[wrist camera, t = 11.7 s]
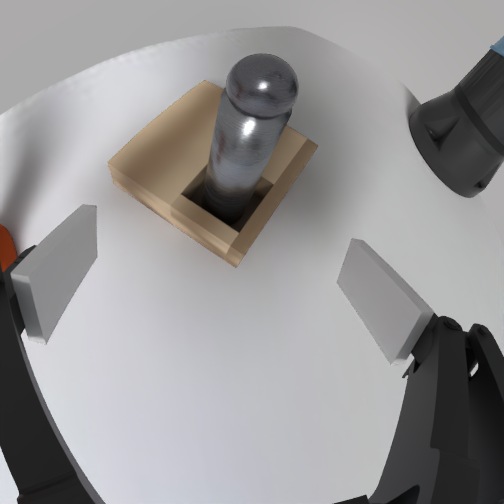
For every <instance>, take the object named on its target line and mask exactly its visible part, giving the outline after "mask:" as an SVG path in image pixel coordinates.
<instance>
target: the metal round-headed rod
mask: <svg viewBox="0 0 504 504" xmlns="http://www.w3.org/2000/svg"><path fill="white" fill-rule="evenodd" d="M297 95H298V80H297V76H296V74H295V72H294V70H293V69H292V68H291V66H290V65H289V64H288V63H287V62H285V61H284V60H282V59H281V58H279V57H277V56H274V55H270V54H254V55H250V56H247V57H245V58H243V59H242V60H240V61H239V62H238V63H236V64H235V65H234V67H233V68H232V69H231V71H230V73H229V75H228V78H227V82H226V88H225V89H224V90H223V92H222V94H221V98H220V103H219V108H218V113H217V118H216V123H215V128H214V133H213V138H212V144H211V149H210V154H209V160H208V166H207V171H206V177H205V183H204V189H203V195H202V202H201V208H202V209H204V210H205V211H207V212H208V213H210V214H211V215H213V216H214V217H216V218H217V219H219V220H220V221H222V222H223V223H225V224H226V225H232V224H234V223H236V222H237V221H239V220H240V219H241V217H242V216H243V214H244V212H245V210H246V207H247V205H248V203H249V201H250V199H251V197H252V195H253V193H254V190H255V188H256V186H257V184H258V182H259V180H260V178H261V176H262V174H263V172H264V169H265V167H266V165H267V163H268V161H269V159H270V157H271V155H272V153H273V151H274V149H275V147H276V145H277V142H278V140H279V138H280V136H281V134H282V132H283V130H284V128H285V126H286V124H287V122H288V120H289V118H290V116H291V112H292V108H291V107H292V106H293V104H294V103H295V101H296V98H297Z"/></svg>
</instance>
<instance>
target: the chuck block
mask: <svg viewBox="0 0 504 504" xmlns="http://www.w3.org/2000/svg"><path fill="white" fill-rule="evenodd" d="M223 90H224V89H222V88H220V87H218V86H216V85H214V84H212V83H210V82H208V81H206V80H204V81H202V82H201V83H199V84H198V85H197V86H195V87H194V88H193V89H191V90H190V91H189V92H187V93H186V94H185V95H183V96H182V97H181V98H180V99H178V100H177V101H176V102H174V103H173V104H172V105H171V106H169V107H168V108H167V109H166V110H165V111H163V112H162V113H161V114H160V115H159V116H157V117H156V118H155V119H154V120H153V121H151V122H150V123H149V124H148V125H147V126H146V127H145V128H143V129H142V130H141V131H140V132H139V133H138V134H137V135H136V136H135V137H133V138H132V139H131V140H130V141H129V142H128V143H127V144H126V145H125V146H124V147H123V148H122V149H121V150H120V151H119V152H118V153H116V154H115V155H114V156H113V157H112V158H111V159H110V160H109V161H108V162H107V163H108V167H109V170H110V173H111V176H112V179H113V182H114V184H115V185H117V186H118V187H120V188H121V189H122V190H124V191H125V192H127V193H128V194H130V195H131V196H132V197H134V198H135V199H137V200H138V201H139V202H141V203H142V204H144V205H145V206H147V207H148V208H149V209H151V210H152V211H154V212H155V213H157V214H158V215H159V216H161V217H162V218H164V219H165V220H167V221H168V222H170V223H171V224H172V225H174V226H175V227H177V228H178V229H180V230H181V231H183V232H184V233H185V234H187V235H188V236H190V237H191V238H193V239H194V240H196V241H197V242H199V243H200V244H202V245H203V246H204V247H206V248H207V249H209V250H210V251H212V252H213V253H215V254H216V255H218V256H219V257H221V258H222V259H224V260H225V261H227V262H228V263H230V264H231V265H233V266H234V267H237V266H238V264H239V263H240V261H241V260H242V258H243V257H244V255H245V254H246V252H247V251H248V249H249V248H250V246H251V245H252V243H253V242H254V240H255V239H256V238H257V236H258V235H259V233H260V232H261V230H262V229H263V227H264V226H265V224H266V223H267V221H268V220H269V218H270V217H271V215H272V214H273V212H274V211H275V209H276V208H277V206H278V205H279V203H280V202H281V200H282V199H283V197H284V196H285V194H286V193H287V191H288V190H289V188H290V187H291V186H292V184H293V183H294V181H295V180H296V178H297V177H298V175H299V174H300V172H301V171H302V169H303V168H304V166H305V165H306V163H307V162H308V160H309V159H310V157H311V156H312V154H313V153H314V152H315V150H316V149H317V147H318V145H317V144H315V143H314V142H312V141H311V140H309V139H308V138H306V137H304V136H303V135H301V134H300V133H298V132H297V131H295V130H294V129H292V128H290V127H289V126H287V125H286V126H285V128H284V130H283V132H282V134H281V136H280V138H279V140H278V142H277V145H276V147H275V149H274V151H273V153H272V155H271V157H270V159H269V161H268V163H267V165H266V167H265V169H264V172H263V174H262V176H261V178H260V180H259V182H258V184H257V186H256V188H255V190H254V193H253V195H252V197H251V199H250V201H249V203H248V205H247V207H246V210H245V212H244V214H243V216H242V217H241V219H240V220H239V221H237V222H236V223H234V224H232V225H226V224H225V223H223V222H222V221H220V220H219V219H217V218H216V217H214V216H213V215H211V214H210V213H208V212H207V211H205V210H204V209H202V208H201V202H202V195H203V189H204V183H205V177H206V171H207V166H208V160H209V154H210V149H211V144H212V138H213V133H214V128H215V123H216V118H217V113H218V108H219V103H220V98H221V94H222V92H223Z"/></svg>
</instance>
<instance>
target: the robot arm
mask: <svg viewBox="0 0 504 504" xmlns="http://www.w3.org/2000/svg"><path fill="white" fill-rule="evenodd" d="M490 48H491V49H490V50H489V51H488V53H487V54H486V55H485V56H484V57H483V58H482V59H481V60H480V61H479V62H478V63H477V65H476V66H475V67H474V68H473V69H472V70H471V71H470V72H469V73H468V74H467V75H466V76H465V77H464V78H463V79H462V80H461V81H460V83H459V84H458V85H457V86H456V87H455V88H454V89H453V90H451V91H450V92H448V93H445V94H443V95H441V96H439V97H437V98H435V99H432V100H430V101H428V102H426V103H424V104H422V105H420V106H419V107H418V108H417V109H416V110H415V112H414V113H413V114H412V115H411V117H410V129H411V133H412V136H413V138H414V141H415V143H416V145H417V147H418V149H419V151H420V152H421V154H422V156H423V157H424V159H425V160H426V162H427V163H428V165H429V166H430V167H431V169H432V170H433V171H434V172H435V174H436V175H437V176H438V177H439V178H440V179H441V180H442V181H443V182H444V183H445V184H446V185H447V186H448V187H449V188H450V189H452V190H453V191H454V192H456V193H457V194H459V195H461V196H463V197H467V198H471V197H474V196H475V195H477V194H478V193H480V192H481V191H483V190H484V189H485V188H486V186H487V185H488V184H489V182H490V181H491V179H492V178H493V176H494V175H495V173H496V172H497V170H498V169H499V167H500V166H501V164H502V163H503V161H504V36H503V37H502V38H501V39H500V40H499V41H498V42H497V43H496V44H495V45H492V46H491V47H490ZM96 258H97V206H94V205H84V204H83V205H82V206H80V207H79V208H78V209H77V210H76V211H74V212H73V213H72V214H71V215H70V216H69V217H68V218H66V219H65V220H64V221H63V222H62V223H61V224H60V225H59V226H57V227H56V228H55V229H54V230H53V231H52V232H51V233H50V234H49V235H48V236H47V237H46V238H45V239H44V240H42V241H41V242H40V243H39V244H38V245H34V246H32V247H30V248H28V249H26V250H25V251H24V252H22V253H21V254H20V255H19V257H18V258H16V259H15V260H14V261H13V263H11V264H10V266H9V267H8V268H7V269H6V270H5V271H4V272H2V268H1V263H0V447H1V449H2V452H3V455H4V457H5V460H6V462H7V465H8V467H9V470H10V472H11V474H12V477H13V479H14V481H15V483H16V485H17V488H18V490H19V496H18V498H17V502H18V504H105V502H104V501H103V500H102V499H101V497H100V496H99V494H98V493H97V492H96V490H95V489H94V487H93V486H92V484H91V483H90V482H89V480H88V479H87V477H86V476H85V474H84V472H83V471H82V469H81V468H80V466H79V465H78V463H77V461H76V460H75V458H74V456H73V455H72V453H71V451H70V449H69V448H68V446H67V444H66V442H65V441H64V439H63V437H62V435H61V433H60V431H59V429H58V427H57V425H56V423H55V421H54V419H53V417H52V415H51V413H50V411H49V409H48V407H47V404H46V402H45V400H44V398H43V395H42V393H41V391H40V388H39V386H38V383H37V381H36V378H35V376H34V373H33V370H32V368H31V365H30V362H29V359H28V356H27V353H26V350H25V347H24V344H23V341H22V338H21V334H22V332H23V330H24V329H26V332H27V335H28V338H29V340H30V341H33V342H37V343H41V344H45V345H46V344H47V342H48V340H49V338H50V336H51V334H52V332H53V331H54V329H55V327H56V325H57V323H58V321H59V319H60V318H61V316H62V314H63V312H64V311H65V309H66V307H67V305H68V304H69V302H70V300H71V298H72V297H73V295H74V293H75V292H76V290H77V288H78V287H79V285H80V283H81V282H82V280H83V279H84V277H85V275H86V274H87V272H88V271H89V269H90V267H91V266H92V264H93V263H94V261H95V260H96ZM337 284H338V285H339V287H340V288H341V290H342V291H343V293H344V294H345V295H346V297H347V298H348V300H349V301H350V303H351V304H352V306H353V307H354V309H355V310H356V312H357V313H358V315H359V316H360V318H361V319H362V321H363V322H364V324H365V325H366V327H367V329H368V330H369V332H370V333H371V335H372V336H373V338H374V339H375V341H376V342H377V344H378V346H379V347H380V349H381V350H382V352H383V353H384V355H385V357H386V358H387V360H388V361H389V363H390V365H397V364H404V363H405V361H406V360H407V358H408V356H409V355H410V353H412V355H413V356H414V360H413V361H412V363H411V364H410V366H409V367H408V369H407V370H406V372H405V373H404V375H403V377H402V378H405V376H406V375H408V379H407V380H408V381H407V386H406V390H405V395H404V400H403V404H402V408H401V412H400V416H399V420H398V424H397V428H396V432H395V435H394V439H393V442H392V445H391V449H390V452H389V455H388V458H387V461H386V464H385V467H384V470H383V473H382V476H381V478H380V481H379V484H378V486H377V488H376V490H375V492H374V493H373V495H372V496H371V497H370V498H369V499H368V498H367V496H366V495H363V496H360V497H357V498H353V499H349V500H346V501H342V502H338V503H334V504H504V357H503V355H502V353H501V351H500V349H499V347H498V345H497V343H496V341H495V339H494V337H493V335H492V334H491V332H490V331H489V330H488V328H487V327H485V326H484V325H480V324H476V323H475V324H473V325H472V327H471V329H470V330H469V332H465V331H463V330H462V327H461V326H460V325H459V324H458V323H457V322H456V321H455V320H454V319H451V318H449V317H446V316H440V317H438V316H437V315H436V314H435V313H434V311H433V310H432V309H431V308H430V307H429V305H428V304H427V303H426V302H425V301H424V300H423V299H422V298H421V297H420V296H419V295H418V294H417V293H416V292H415V291H414V290H413V289H412V288H411V287H410V286H409V284H408V283H407V282H406V281H405V280H404V279H403V278H402V277H401V276H400V275H399V274H398V273H397V272H396V271H395V270H394V269H393V268H392V267H391V266H390V265H389V264H388V263H387V262H386V261H384V260H383V259H382V258H381V257H380V256H379V255H378V254H377V253H376V252H375V251H374V250H373V249H372V248H371V247H370V246H369V245H368V244H367V243H366V242H365V241H364V240H358V239H351V242H350V245H349V248H348V251H347V254H346V257H345V260H344V263H343V266H342V268H341V271H340V274H339V277H338V280H337ZM477 363H478V370H477V371H476V372H475V374H474V375H473V376H471V374H470V372H471V371H472V370H473V368H474V367H475V365H476V364H477Z"/></svg>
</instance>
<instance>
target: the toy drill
mask: <svg viewBox="0 0 504 504" xmlns="http://www.w3.org/2000/svg"><path fill="white" fill-rule="evenodd" d="M16 258H17V253H16V250H15V246H14V243H13V240H12V238H11V236H10V234H9V232H8V230H7V229H6V228H5V227H4V226H3V225H1V224H0V263H1V268H2V272H4V271H5V270H6V269H7V268H8V267H9V266H10V264H11V263H13V261H14V260H15V259H16Z"/></svg>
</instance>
